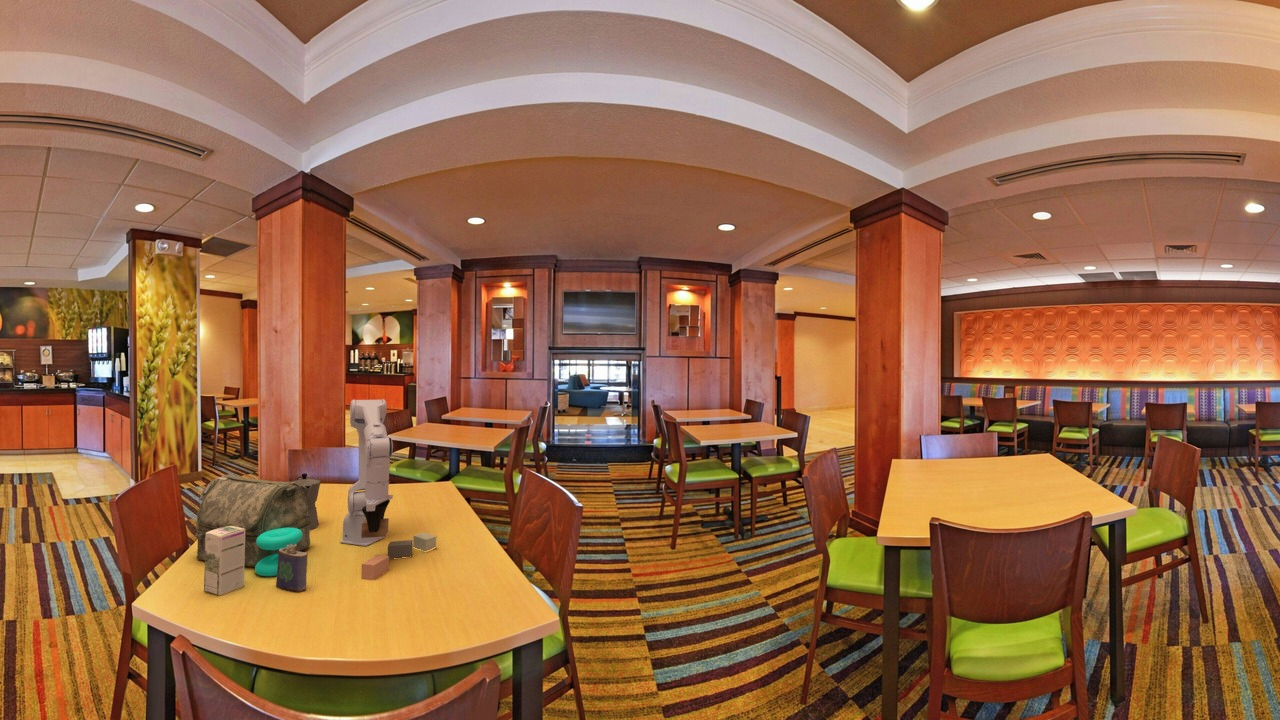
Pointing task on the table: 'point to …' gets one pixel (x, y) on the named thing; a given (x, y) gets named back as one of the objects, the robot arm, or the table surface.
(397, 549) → the charcoal block
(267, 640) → the table surface
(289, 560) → the flask
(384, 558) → the terracotta block
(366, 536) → the walnut block
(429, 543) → the sage block
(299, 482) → the coffeepot
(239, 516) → the lunch bag
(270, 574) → the donuts
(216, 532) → the syrup box
